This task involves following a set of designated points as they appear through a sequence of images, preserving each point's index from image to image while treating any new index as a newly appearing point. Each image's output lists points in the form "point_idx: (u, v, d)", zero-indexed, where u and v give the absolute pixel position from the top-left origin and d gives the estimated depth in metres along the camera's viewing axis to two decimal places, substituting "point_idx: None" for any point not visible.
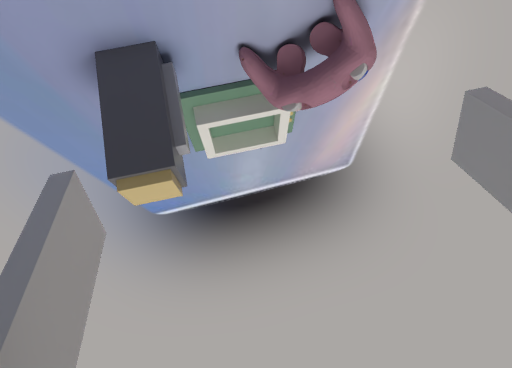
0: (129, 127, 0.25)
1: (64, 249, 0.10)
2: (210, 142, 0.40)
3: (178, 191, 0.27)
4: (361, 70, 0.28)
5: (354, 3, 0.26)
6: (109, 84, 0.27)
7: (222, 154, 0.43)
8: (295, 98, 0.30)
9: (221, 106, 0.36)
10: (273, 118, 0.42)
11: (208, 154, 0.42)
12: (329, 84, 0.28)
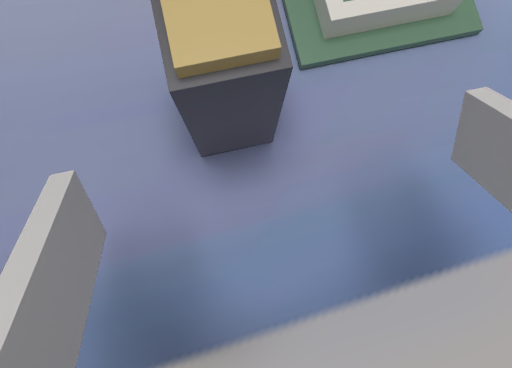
0: None
1: (64, 249, 0.10)
2: None
3: None
4: None
5: None
6: None
7: None
8: None
9: None
10: None
11: None
12: None
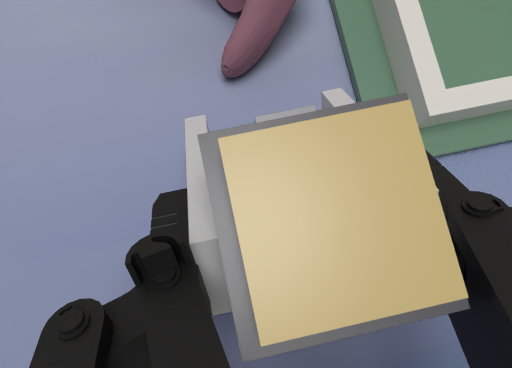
0: None
1: None
2: None
3: (353, 116, 0.07)
4: None
5: None
6: None
7: None
8: None
9: (398, 72, 0.17)
10: None
11: None
12: None
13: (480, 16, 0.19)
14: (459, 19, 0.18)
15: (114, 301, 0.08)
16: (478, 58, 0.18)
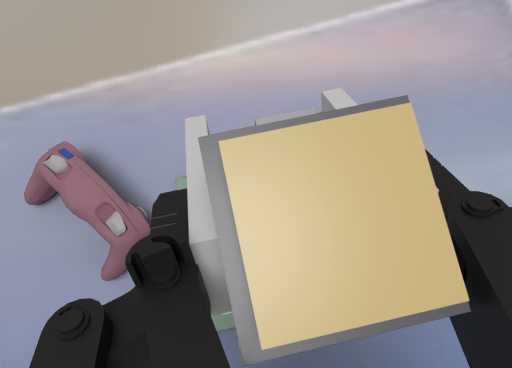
0: None
1: None
2: None
3: (354, 119, 0.07)
4: (45, 164, 0.25)
5: None
6: None
7: None
8: (95, 225, 0.25)
9: None
10: None
11: None
12: (62, 194, 0.25)
13: None
14: None
15: (114, 301, 0.08)
16: None
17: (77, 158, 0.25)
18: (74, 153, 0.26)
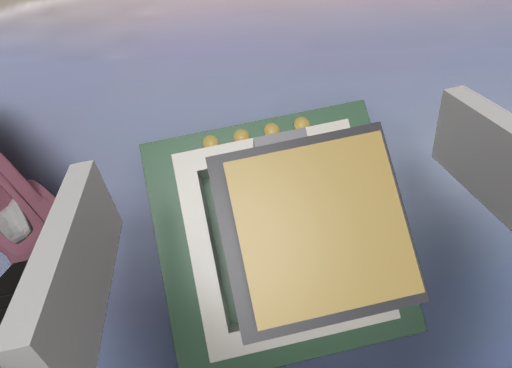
0: None
1: (87, 234, 0.10)
2: None
3: (334, 144, 0.08)
4: None
5: None
6: None
7: None
8: None
9: None
10: None
11: (373, 319, 0.16)
12: None
13: None
14: None
15: None
16: None
17: None
18: None
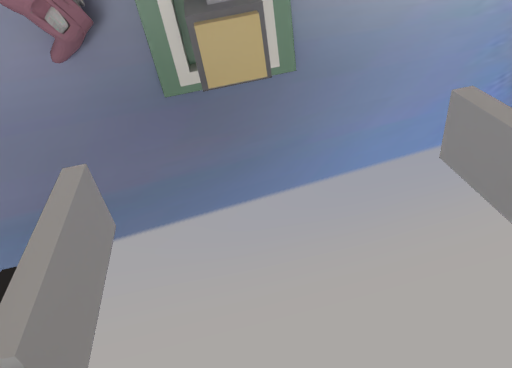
0: None
1: (78, 240, 0.10)
2: None
3: (239, 19, 0.21)
4: None
5: None
6: None
7: (272, 46, 0.30)
8: (35, 21, 0.25)
9: None
10: None
11: None
12: None
13: None
14: None
15: None
16: None
17: None
18: None
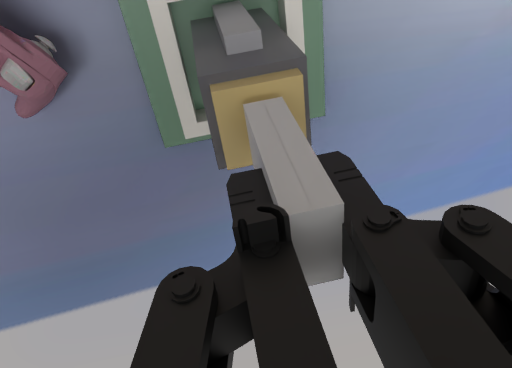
0: None
1: None
2: None
3: (275, 82, 0.15)
4: None
5: None
6: None
7: None
8: None
9: None
10: None
11: None
12: None
13: None
14: None
15: (212, 270, 0.09)
16: None
17: None
18: None
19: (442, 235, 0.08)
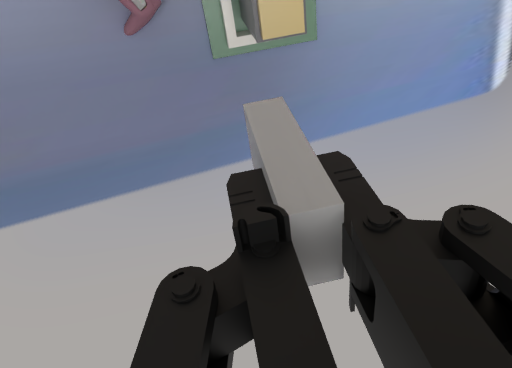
0: (248, 12, 0.34)
1: None
2: None
3: None
4: None
5: None
6: (244, 16, 0.37)
7: None
8: (123, 1, 0.34)
9: (223, 18, 0.40)
10: None
11: None
12: None
13: None
14: None
15: (212, 270, 0.09)
16: None
17: None
18: None
19: (442, 235, 0.08)
